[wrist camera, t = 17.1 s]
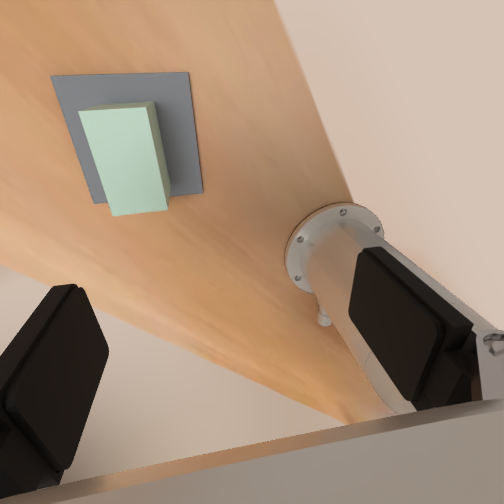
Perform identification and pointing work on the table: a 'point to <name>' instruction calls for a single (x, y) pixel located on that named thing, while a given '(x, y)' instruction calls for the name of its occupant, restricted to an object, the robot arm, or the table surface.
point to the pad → (128, 91)
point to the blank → (128, 156)
